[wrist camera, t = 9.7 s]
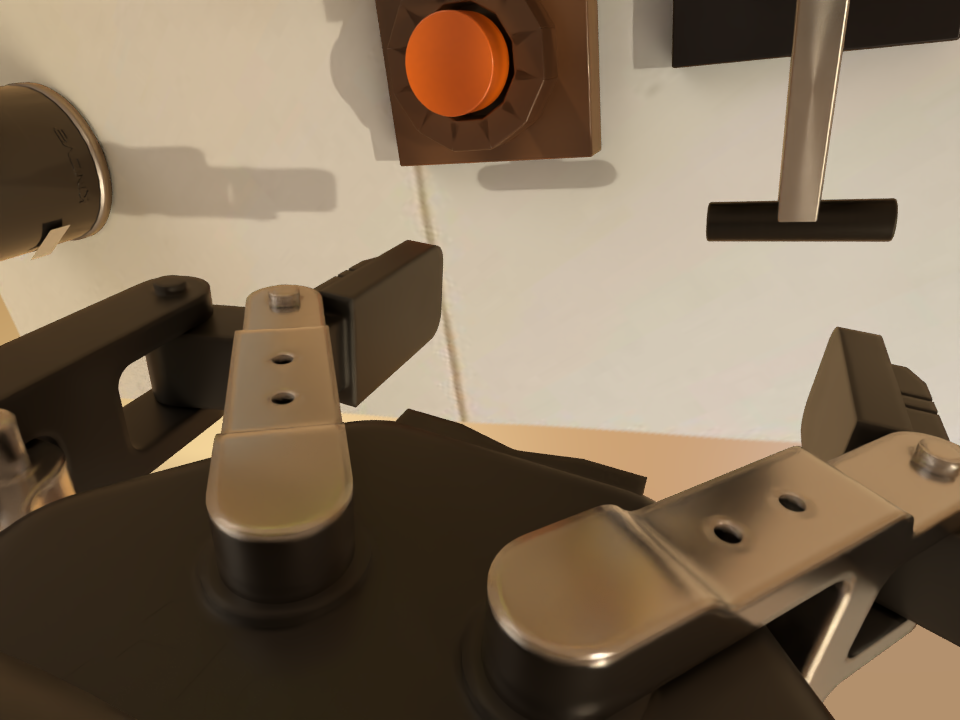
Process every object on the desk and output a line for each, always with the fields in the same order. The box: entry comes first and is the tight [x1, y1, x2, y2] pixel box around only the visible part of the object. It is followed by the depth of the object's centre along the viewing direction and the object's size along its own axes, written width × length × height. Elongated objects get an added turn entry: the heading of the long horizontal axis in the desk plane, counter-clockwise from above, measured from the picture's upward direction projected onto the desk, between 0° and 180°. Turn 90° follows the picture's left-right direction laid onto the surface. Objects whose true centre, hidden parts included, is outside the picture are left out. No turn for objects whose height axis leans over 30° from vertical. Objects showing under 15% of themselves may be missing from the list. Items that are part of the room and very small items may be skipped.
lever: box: [706, 0, 898, 242], centre depth 16 cm, size 12×5×2 cm, turn 7°
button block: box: [375, 0, 601, 166], centre depth 26 cm, size 9×8×4 cm
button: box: [405, 10, 509, 117], centre depth 25 cm, size 4×4×2 cm
